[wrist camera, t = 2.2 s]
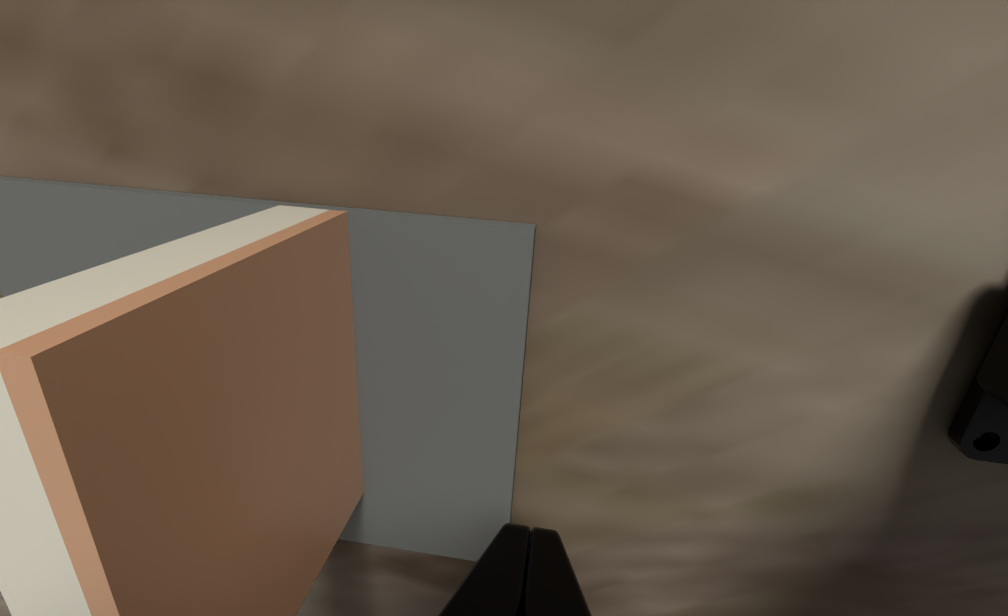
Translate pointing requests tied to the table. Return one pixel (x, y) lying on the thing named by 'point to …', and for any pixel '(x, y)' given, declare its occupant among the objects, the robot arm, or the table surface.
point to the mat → (378, 339)
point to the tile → (182, 424)
